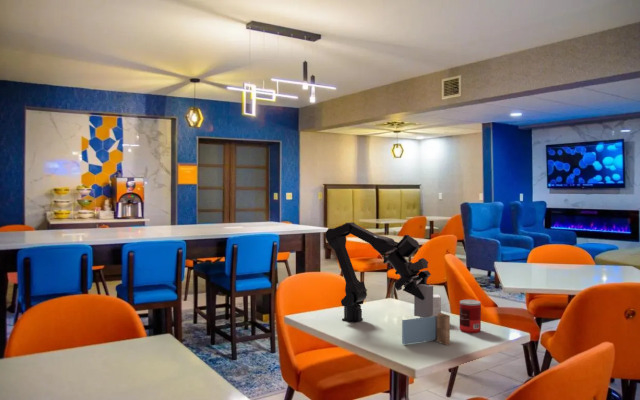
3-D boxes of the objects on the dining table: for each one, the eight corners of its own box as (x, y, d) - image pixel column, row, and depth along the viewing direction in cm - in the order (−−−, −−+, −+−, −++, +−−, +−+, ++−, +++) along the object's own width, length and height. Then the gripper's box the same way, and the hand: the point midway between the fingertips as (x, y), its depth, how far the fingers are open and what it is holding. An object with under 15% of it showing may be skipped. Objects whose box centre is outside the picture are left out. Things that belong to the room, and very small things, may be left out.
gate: (436, 339, 176) (436, 315, 175) (439, 340, 174) (439, 316, 174) (401, 344, 169) (402, 320, 169) (404, 345, 168) (404, 321, 168)
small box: (439, 319, 204) (439, 294, 204) (441, 323, 198) (441, 297, 198) (419, 319, 205) (419, 293, 205) (420, 322, 199) (421, 296, 199)
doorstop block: (414, 315, 182) (414, 285, 182) (420, 313, 186) (421, 284, 186) (426, 318, 179) (426, 287, 179) (432, 315, 183) (433, 285, 182)
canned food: (481, 329, 189) (482, 300, 189) (479, 334, 182) (479, 304, 182) (461, 326, 193) (461, 298, 193) (457, 332, 185) (458, 302, 185)
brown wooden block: (437, 341, 173) (437, 313, 173) (440, 341, 174) (440, 312, 173) (446, 345, 169) (446, 316, 168) (449, 344, 169) (449, 315, 169)
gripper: (402, 253, 177) (429, 288, 170) (426, 249, 192) (452, 281, 185) (382, 273, 182) (409, 307, 176) (408, 267, 197) (433, 299, 190)
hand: (427, 298), depth 181 cm, fingers closed on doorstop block, 5 cm apart
